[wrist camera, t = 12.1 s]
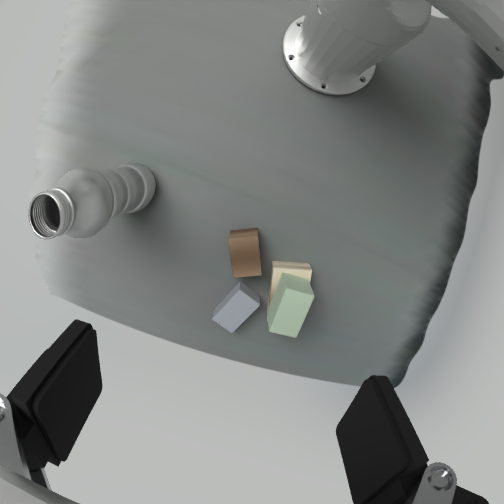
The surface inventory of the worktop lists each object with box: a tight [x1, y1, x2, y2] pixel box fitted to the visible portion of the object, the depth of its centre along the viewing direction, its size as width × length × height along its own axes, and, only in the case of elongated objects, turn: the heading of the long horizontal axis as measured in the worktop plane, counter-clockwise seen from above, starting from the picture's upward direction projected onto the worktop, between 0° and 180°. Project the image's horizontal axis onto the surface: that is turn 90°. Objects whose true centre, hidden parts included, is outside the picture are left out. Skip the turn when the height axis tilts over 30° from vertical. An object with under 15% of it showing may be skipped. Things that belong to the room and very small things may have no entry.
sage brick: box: [267, 272, 314, 338], centre depth 36 cm, size 6×4×5 cm, turn 163°
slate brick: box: [212, 281, 260, 333], centre depth 40 cm, size 6×4×3 cm, turn 139°
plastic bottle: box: [29, 162, 156, 239], centre depth 27 cm, size 6×7×20 cm
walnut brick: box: [228, 228, 262, 278], centre depth 37 cm, size 5×4×4 cm
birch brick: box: [267, 261, 312, 322], centre depth 40 cm, size 8×5×3 cm, turn 176°
